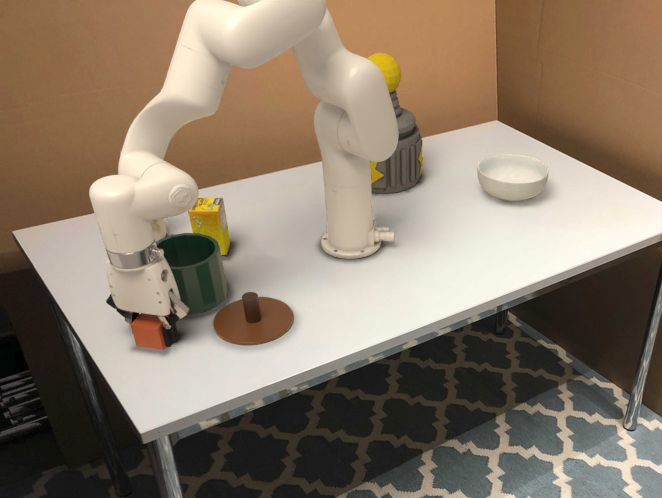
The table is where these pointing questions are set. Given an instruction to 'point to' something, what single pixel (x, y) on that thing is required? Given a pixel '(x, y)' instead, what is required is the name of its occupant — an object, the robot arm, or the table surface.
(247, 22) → the robot arm
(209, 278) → the canister
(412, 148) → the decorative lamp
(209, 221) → the supplement box
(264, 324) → the canister lid
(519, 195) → the cereal bowl
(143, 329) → the block
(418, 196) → the table surface
